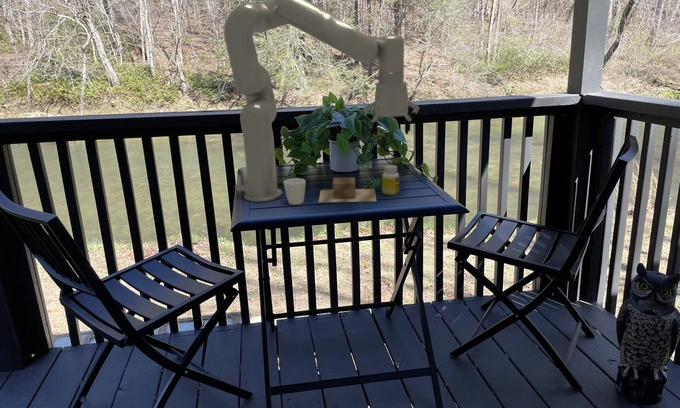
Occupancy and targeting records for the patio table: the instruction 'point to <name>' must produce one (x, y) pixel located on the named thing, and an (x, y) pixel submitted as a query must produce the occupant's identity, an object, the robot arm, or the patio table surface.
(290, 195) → the cup
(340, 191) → the block
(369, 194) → the board
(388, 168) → the supplement bottle
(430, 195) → the patio table surface
